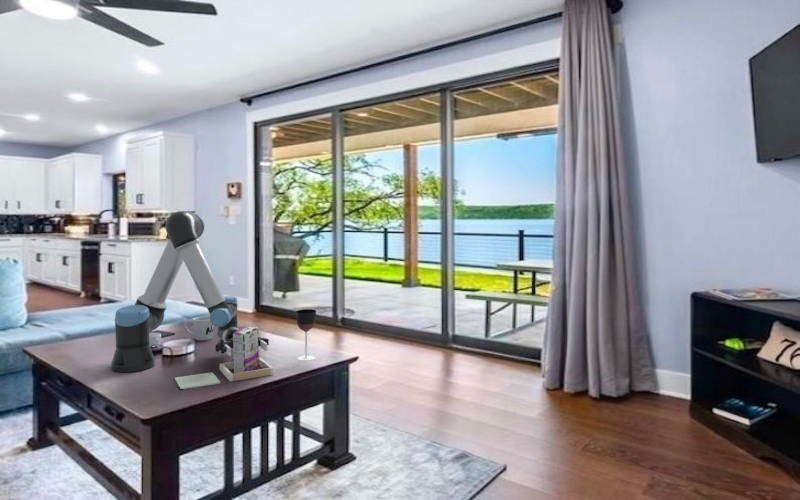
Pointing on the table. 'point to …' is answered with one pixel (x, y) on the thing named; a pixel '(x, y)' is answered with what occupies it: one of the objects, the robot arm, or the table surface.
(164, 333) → the notebook
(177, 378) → the rubber mat
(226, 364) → the cream rectangular open frame
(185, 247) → the robot arm
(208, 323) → the mug
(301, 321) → the wineglass
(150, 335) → the teacup
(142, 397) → the table surface
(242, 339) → the candy bar box
